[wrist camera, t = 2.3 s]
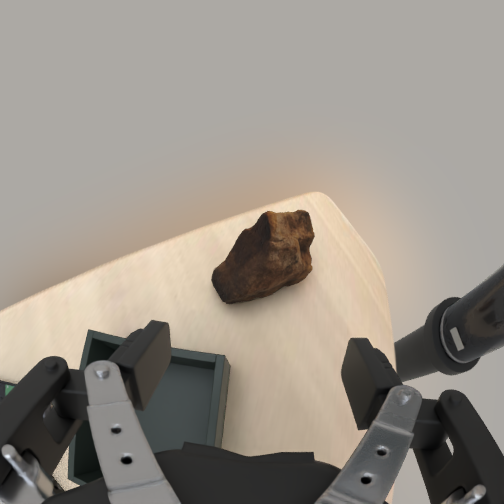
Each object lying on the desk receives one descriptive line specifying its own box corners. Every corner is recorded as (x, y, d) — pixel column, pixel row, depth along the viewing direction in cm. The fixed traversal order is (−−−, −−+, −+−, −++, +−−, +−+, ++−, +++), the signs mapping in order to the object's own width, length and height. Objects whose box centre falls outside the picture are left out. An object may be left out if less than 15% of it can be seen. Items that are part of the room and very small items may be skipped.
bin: (230, 365, 29) (225, 355, 23) (215, 505, 19) (206, 526, 14) (114, 344, 29) (88, 329, 24) (97, 471, 20) (67, 479, 15)
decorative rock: (295, 247, 37) (308, 191, 28) (315, 285, 34) (337, 236, 25) (209, 275, 35) (195, 222, 26) (223, 317, 32) (212, 276, 23)
